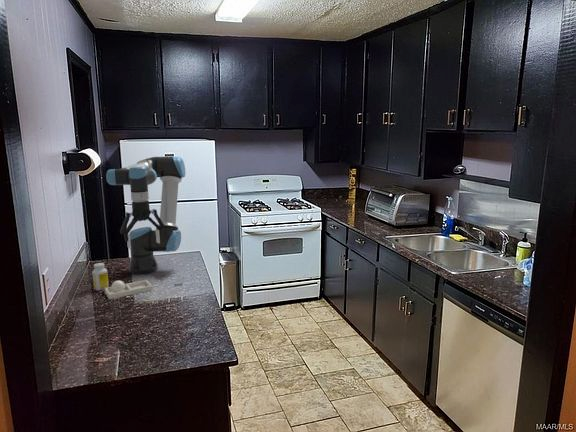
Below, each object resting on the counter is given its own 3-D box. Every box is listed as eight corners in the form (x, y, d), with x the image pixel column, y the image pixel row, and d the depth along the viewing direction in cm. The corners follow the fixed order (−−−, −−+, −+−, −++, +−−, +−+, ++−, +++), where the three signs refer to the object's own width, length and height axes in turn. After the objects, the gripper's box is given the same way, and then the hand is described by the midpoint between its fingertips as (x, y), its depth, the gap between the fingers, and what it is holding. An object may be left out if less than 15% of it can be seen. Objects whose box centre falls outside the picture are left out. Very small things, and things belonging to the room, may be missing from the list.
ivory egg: (110, 292, 197) (109, 280, 196) (124, 289, 201) (122, 277, 199) (113, 296, 192) (112, 284, 191) (127, 293, 196) (126, 281, 194)
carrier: (109, 301, 189) (108, 295, 189) (104, 293, 198) (103, 287, 198) (154, 291, 200) (153, 285, 200) (147, 285, 209) (147, 279, 209)
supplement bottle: (111, 287, 206) (109, 262, 204) (104, 292, 200) (102, 266, 197) (98, 287, 207) (96, 262, 205) (91, 292, 201) (88, 266, 198)
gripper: (114, 205, 183) (119, 252, 187) (169, 198, 198) (172, 242, 202) (109, 202, 189) (114, 248, 193) (163, 196, 204) (166, 239, 208)
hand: (144, 245), depth 198 cm, fingers open, 13 cm apart
